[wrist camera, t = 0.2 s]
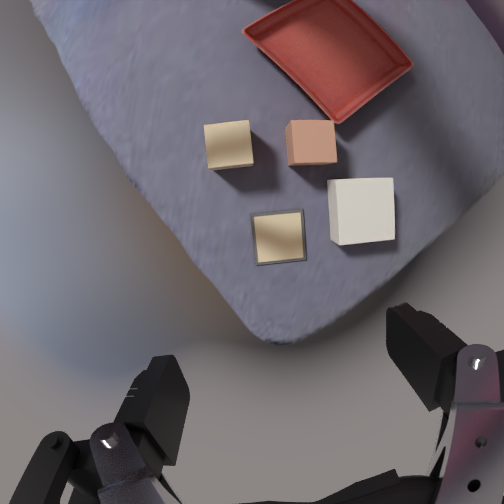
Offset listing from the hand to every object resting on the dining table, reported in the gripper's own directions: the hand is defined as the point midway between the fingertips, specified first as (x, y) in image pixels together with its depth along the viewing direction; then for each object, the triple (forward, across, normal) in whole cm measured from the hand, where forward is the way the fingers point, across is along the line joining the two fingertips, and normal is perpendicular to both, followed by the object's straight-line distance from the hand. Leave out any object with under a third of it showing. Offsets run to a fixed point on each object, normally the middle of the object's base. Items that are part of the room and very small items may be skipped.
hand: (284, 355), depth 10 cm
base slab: (+28, -14, 0) cm, 31 cm away
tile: (+28, -3, +2) cm, 28 cm away
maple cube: (+28, +1, -11) cm, 30 cm away
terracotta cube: (+28, -8, -9) cm, 31 cm away
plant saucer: (+29, -16, -23) cm, 40 cm away
